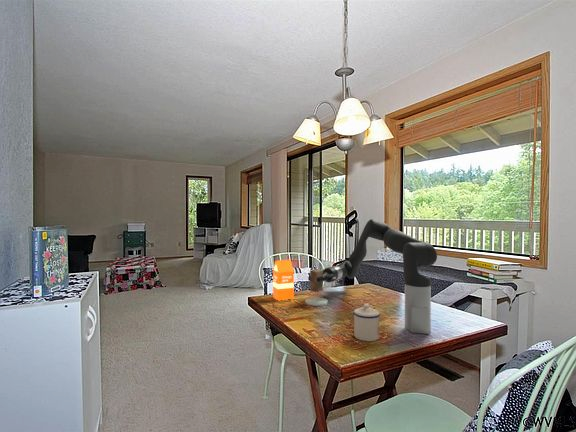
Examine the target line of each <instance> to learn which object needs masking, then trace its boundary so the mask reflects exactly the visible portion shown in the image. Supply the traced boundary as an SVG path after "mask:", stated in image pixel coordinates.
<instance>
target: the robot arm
mask: <svg viewBox="0 0 576 432" xmlns="http://www.w3.org/2000/svg"><path fill="white" fill-rule="evenodd" d="M369 238H372V239H375V240H377V241H383V243H384V246H385V247H387V248H388V249H389V250H391V251H393V252H395V253H398V254H402V262H403V264H402V265H403V278H404V329H405V330H407V331H409V332H410V333H412V334H413V333H414V334H425V335H429V334H430V332H432V326H431V325H432V324H431V322H432V321H431V316H432V311H431V310H432V305H431V304H432V303H431V301H432V297H431V296H432V292H431V290H432V289H431V287H432V282H431V281H432V279H431V278H430V277H429V276H427V275H423V274H422V273H419V271H418V270H419V269H418V268H419V267H421V268H422V267H423V268H425V267H426V268H427V267H431V266H433V265H434V264H435V263H436V262H437V259H438V253H437V251H436V248H435V247H434V246H433V245H432V244H431V243H429V242H426V241H422V240H420V239H417V238H414V237H412V236H410V235H409V234H406V233H405V232H403V231H400V230H398V229H396V228H392V227H391V226H389V224H387V223H385V222H383V221H381V220H376V219H374V218H373V219H369V220H368V221H367V222H366V224H365V226H364V228H363V229H362V231H361V234H360V237H359V239H358V242H357V243H356V245H355V247H354V249H353V251H352V252H351V254H350V255H349V257H348V260H344V261H342V262H341V263H340V264H338V265H333V266H330V267H326V268H324V269H322V270H323V276H322V277H318V278H317V282H321V281H323V282H326V283H332V282H335V281H339V280H340V279H343V278H345V277H346V278H348V279H350V280H351V279H354V278H356V276H357V275H358V273H359V269H360V266H361V264H362V262H363V261H364V259H365V258H366V256H367V252H368V251H367V241H368V239H369ZM307 279H308V281H309V282H310V275H309V276H308V278H307Z"/></svg>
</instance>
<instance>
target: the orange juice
mask: <svg viewBox="0 0 576 432" xmlns="http://www.w3.org/2000/svg"><path fill="white" fill-rule="evenodd" d="M294 272H295V271H294V268H293V263H292V260H291V259H281V260H280V259H279V260H275V261H274V265H273V269H272V294H273V295H272V298H273V299H275V300H276V301H277V300H278V301H277V302H281V300H282V301H289V300H288V299H291V300H295V299H294V298H295V297H294V295H295V292H294V291H295V290H294V289H295V279H294V278H295V276H294V275H295V273H294Z"/></svg>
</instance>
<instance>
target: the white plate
mask: <svg viewBox="0 0 576 432" xmlns="http://www.w3.org/2000/svg"><path fill="white" fill-rule="evenodd" d="M328 302H329V301H328V299H326V298H324V297H318V296H314V297H312V296H311V297H308V298H305V305H308V306H314V307H321V306H326V305H328Z"/></svg>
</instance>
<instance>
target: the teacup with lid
mask: <svg viewBox="0 0 576 432" xmlns="http://www.w3.org/2000/svg"><path fill="white" fill-rule="evenodd" d="M380 316H381V314H380V311H378V310H377V309H375V308H372V307H371V306H370V304H368V303H364V304H363V306H361V307H358V308H355V309H354V311H353V317H354V320H353V321H354V322H353V323H354V326H353V327H354V328H353V329H354V331H353V332H354V333H353V334H354V335H353V336H354V337H355V338H356V339H357V340H359V341H364V342H375V341H377V340H379V338H380Z"/></svg>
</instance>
